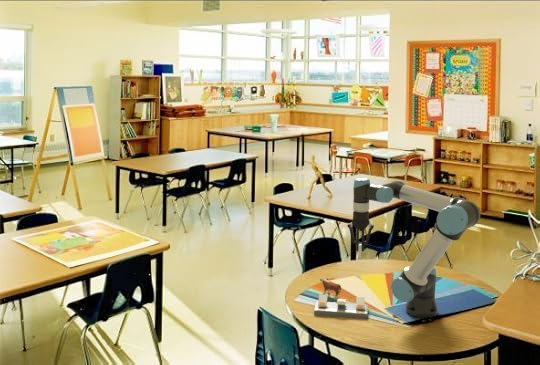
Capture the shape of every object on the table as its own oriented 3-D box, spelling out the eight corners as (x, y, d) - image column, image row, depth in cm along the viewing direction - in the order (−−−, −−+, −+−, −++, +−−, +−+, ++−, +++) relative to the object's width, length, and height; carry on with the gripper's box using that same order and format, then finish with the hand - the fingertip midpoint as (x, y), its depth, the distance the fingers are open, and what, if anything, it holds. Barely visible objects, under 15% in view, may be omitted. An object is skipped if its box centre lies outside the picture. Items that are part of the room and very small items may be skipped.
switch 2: (364, 299, 285) (364, 297, 285) (364, 309, 280) (364, 307, 279) (356, 298, 286) (356, 296, 285) (355, 308, 280) (355, 306, 280)
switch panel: (367, 308, 287) (367, 301, 287) (367, 318, 276) (367, 311, 276) (316, 304, 292) (316, 298, 291) (314, 314, 281) (314, 307, 280)
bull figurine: (323, 290, 311) (323, 275, 309) (342, 297, 301) (342, 282, 300) (317, 292, 308) (317, 277, 306) (337, 299, 298) (337, 284, 297)
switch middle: (346, 301, 287) (346, 299, 287) (345, 304, 280) (345, 302, 280) (337, 301, 288) (337, 298, 288) (336, 304, 281) (336, 301, 281)
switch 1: (327, 296, 288) (327, 294, 288) (326, 307, 283) (326, 305, 282) (319, 296, 289) (319, 294, 288) (318, 306, 284) (318, 304, 283)
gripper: (374, 209, 285) (373, 255, 290) (347, 208, 288) (346, 254, 292) (374, 212, 278) (373, 260, 283) (346, 211, 280) (346, 259, 285)
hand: (359, 257), depth 288 cm, fingers closed
